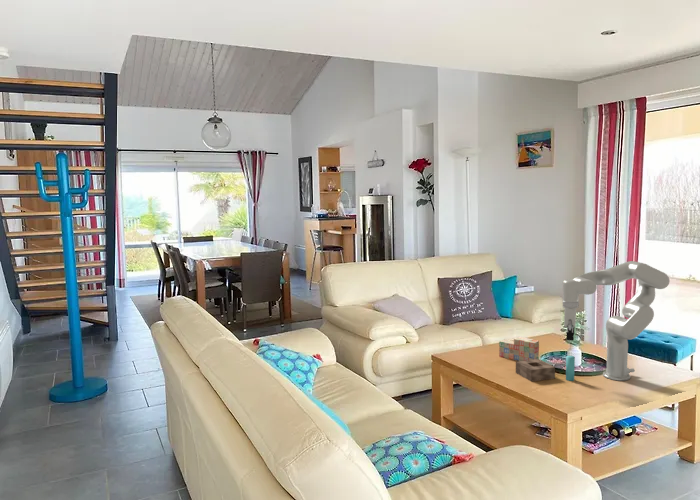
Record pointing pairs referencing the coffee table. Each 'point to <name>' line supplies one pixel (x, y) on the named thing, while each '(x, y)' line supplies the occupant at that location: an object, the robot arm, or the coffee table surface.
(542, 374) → the socket block
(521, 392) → the coffee table surface
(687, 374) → the coffee table surface
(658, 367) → the coffee table surface
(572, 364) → the peg
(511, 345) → the stack of blocks
